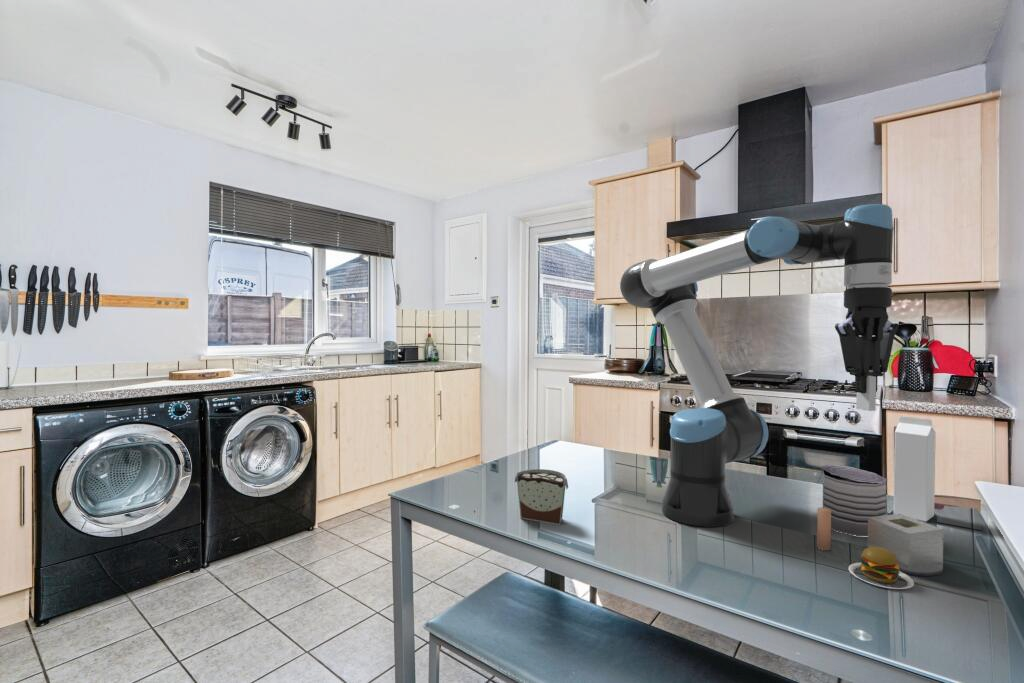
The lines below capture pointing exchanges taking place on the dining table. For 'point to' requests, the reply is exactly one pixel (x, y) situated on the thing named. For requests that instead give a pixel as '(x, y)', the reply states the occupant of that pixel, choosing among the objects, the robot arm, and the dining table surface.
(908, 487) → the milk
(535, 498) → the food container
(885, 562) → the hamburger
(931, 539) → the collar
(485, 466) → the dining table surface
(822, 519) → the sausage
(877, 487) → the can
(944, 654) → the dining table surface
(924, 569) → the hub
